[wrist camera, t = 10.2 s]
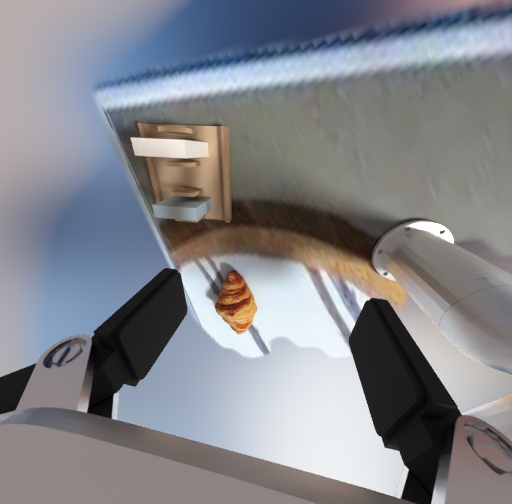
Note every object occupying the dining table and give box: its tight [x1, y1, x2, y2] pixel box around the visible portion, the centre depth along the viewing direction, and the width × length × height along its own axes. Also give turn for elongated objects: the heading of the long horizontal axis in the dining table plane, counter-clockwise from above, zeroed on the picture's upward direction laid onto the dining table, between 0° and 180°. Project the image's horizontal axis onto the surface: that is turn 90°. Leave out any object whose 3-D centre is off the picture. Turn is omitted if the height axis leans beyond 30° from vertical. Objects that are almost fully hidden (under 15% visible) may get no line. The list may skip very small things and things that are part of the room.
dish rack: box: [138, 123, 232, 223], centre depth 29 cm, size 14×15×8 cm
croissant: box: [215, 271, 257, 335], centre depth 44 cm, size 21×10×8 cm, turn 3°
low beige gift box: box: [131, 138, 209, 158], centre depth 26 cm, size 7×2×8 cm, turn 88°
